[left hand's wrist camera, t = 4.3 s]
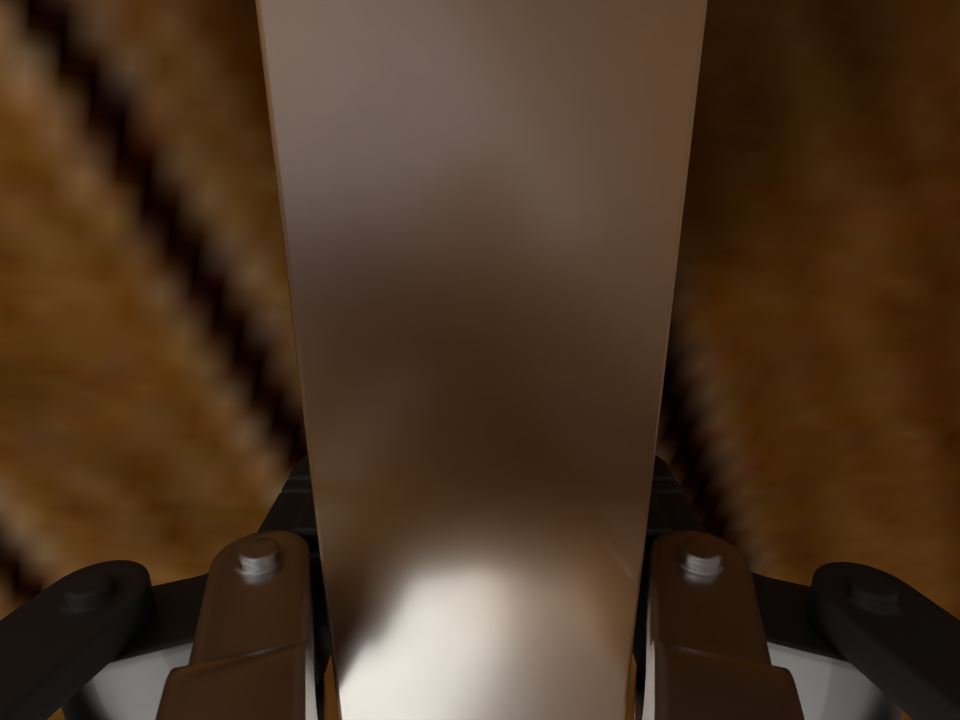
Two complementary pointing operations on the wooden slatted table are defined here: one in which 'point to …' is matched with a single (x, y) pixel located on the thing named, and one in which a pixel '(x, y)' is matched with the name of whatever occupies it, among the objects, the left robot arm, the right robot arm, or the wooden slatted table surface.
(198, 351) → the wooden slatted table surface
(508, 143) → the bar
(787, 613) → the left robot arm
